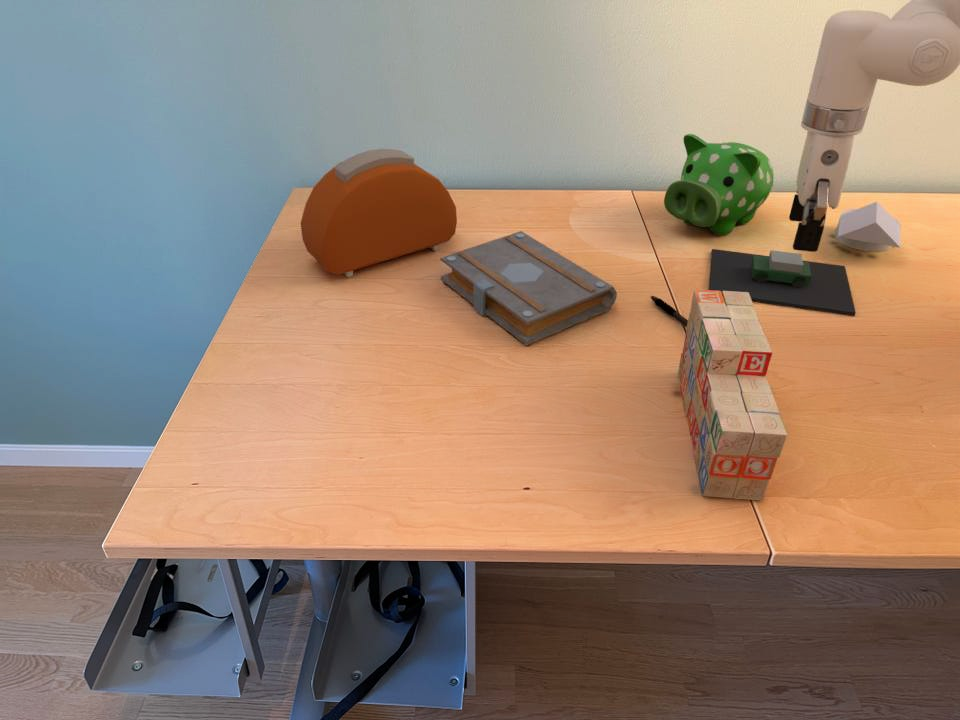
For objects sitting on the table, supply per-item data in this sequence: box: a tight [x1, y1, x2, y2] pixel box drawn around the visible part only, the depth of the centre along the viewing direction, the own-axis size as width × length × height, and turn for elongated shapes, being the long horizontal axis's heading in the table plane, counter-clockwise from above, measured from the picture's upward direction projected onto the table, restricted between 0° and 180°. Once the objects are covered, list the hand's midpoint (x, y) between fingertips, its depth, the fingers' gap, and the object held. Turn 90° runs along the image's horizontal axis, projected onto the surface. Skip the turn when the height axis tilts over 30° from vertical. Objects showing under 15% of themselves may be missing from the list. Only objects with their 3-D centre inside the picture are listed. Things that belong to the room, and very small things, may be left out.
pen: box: [650, 295, 688, 328], centre depth 96 cm, size 14×2×1 cm, turn 26°
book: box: [439, 230, 618, 346], centre depth 101 cm, size 21×16×5 cm
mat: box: [708, 248, 857, 317], centre depth 106 cm, size 20×14×1 cm
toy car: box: [751, 249, 811, 288], centre depth 105 cm, size 8×4×4 cm
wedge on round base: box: [834, 201, 902, 253], centre depth 114 cm, size 9×7×13 cm
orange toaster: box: [300, 148, 458, 278], centre depth 108 cm, size 23×9×17 cm, turn 123°
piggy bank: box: [663, 133, 775, 237], centre depth 118 cm, size 14×18×15 cm
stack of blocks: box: [677, 289, 788, 501], centre depth 76 cm, size 21×6×12 cm, turn 174°
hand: (802, 234), depth 102 cm, fingers open, 9 cm apart
